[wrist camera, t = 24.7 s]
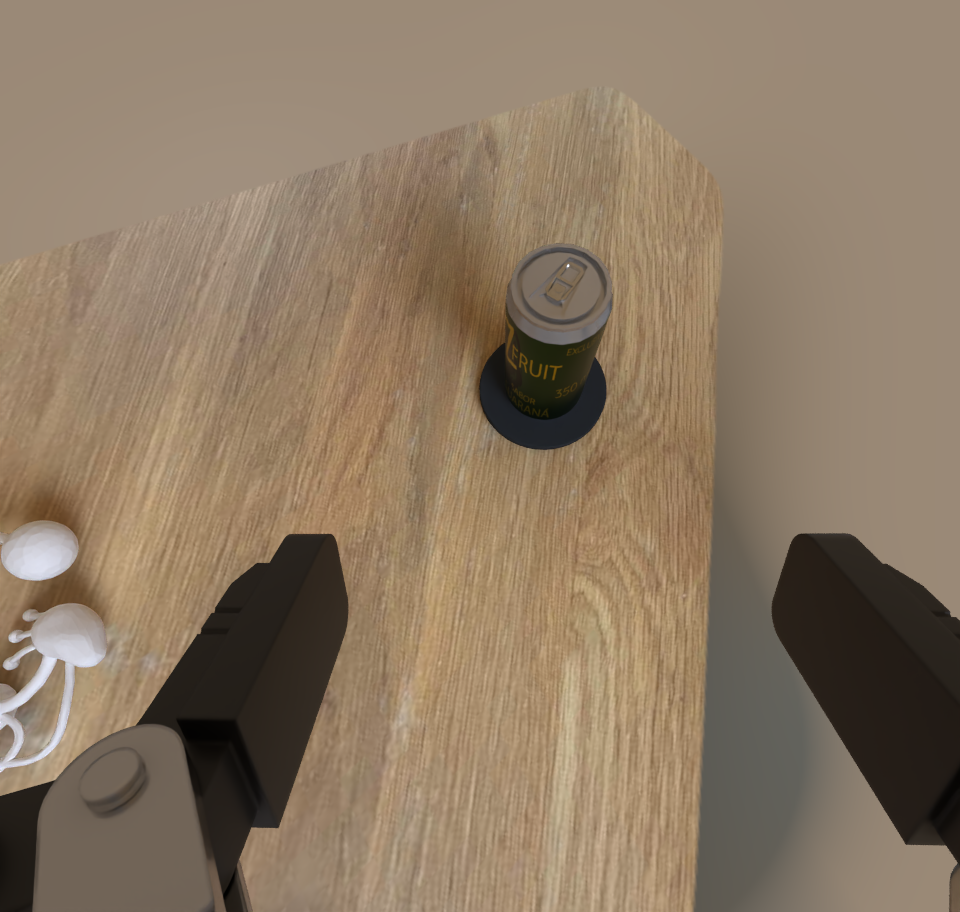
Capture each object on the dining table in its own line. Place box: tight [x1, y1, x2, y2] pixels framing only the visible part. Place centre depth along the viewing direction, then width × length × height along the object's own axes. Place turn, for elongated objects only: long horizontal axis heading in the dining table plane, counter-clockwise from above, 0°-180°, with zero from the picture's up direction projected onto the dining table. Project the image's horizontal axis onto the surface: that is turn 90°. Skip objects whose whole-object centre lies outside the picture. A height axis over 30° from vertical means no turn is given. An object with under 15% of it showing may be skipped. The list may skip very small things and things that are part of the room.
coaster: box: [479, 343, 606, 450], centre depth 37 cm, size 9×9×1 cm
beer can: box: [505, 243, 613, 420], centre depth 31 cm, size 5×5×12 cm
